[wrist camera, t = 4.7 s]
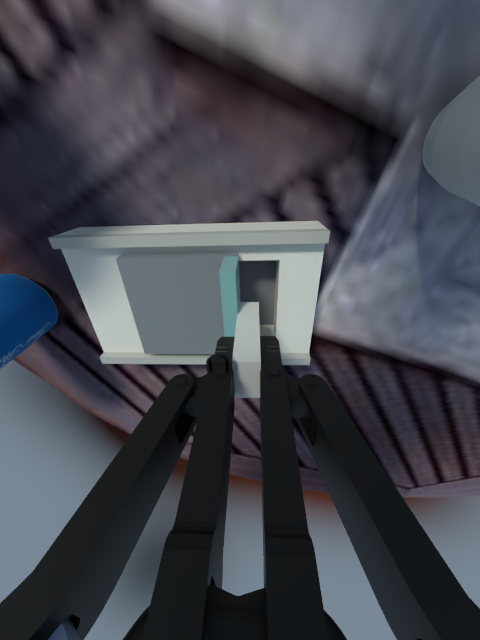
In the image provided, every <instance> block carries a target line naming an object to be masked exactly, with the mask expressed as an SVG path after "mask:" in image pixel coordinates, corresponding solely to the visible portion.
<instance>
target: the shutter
mask: <svg viewBox="0 0 480 640" xmlns="http://www.w3.org/2000/svg"><path fill="white" fill-rule="evenodd" d="M116 261H117V265H118V268H119V271H120V274H121V278H122V281H123V284H124V288H125V291H126V294H127V297H128V301H129V304H130V307H131V311H132V314H133V317H134V320H135V324H136V327H137V330H138V333H139V337H140V340H141V343H142V347H143V350H144V353H145V354H215V349H216V345H217V341H218V340H219V339H220V338H221V337H235V330H236V321H237V314H238V305H239V302H241V301H240V274H239V253H208V254H156V255H120V256H119V257H117V258H116Z"/></svg>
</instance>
